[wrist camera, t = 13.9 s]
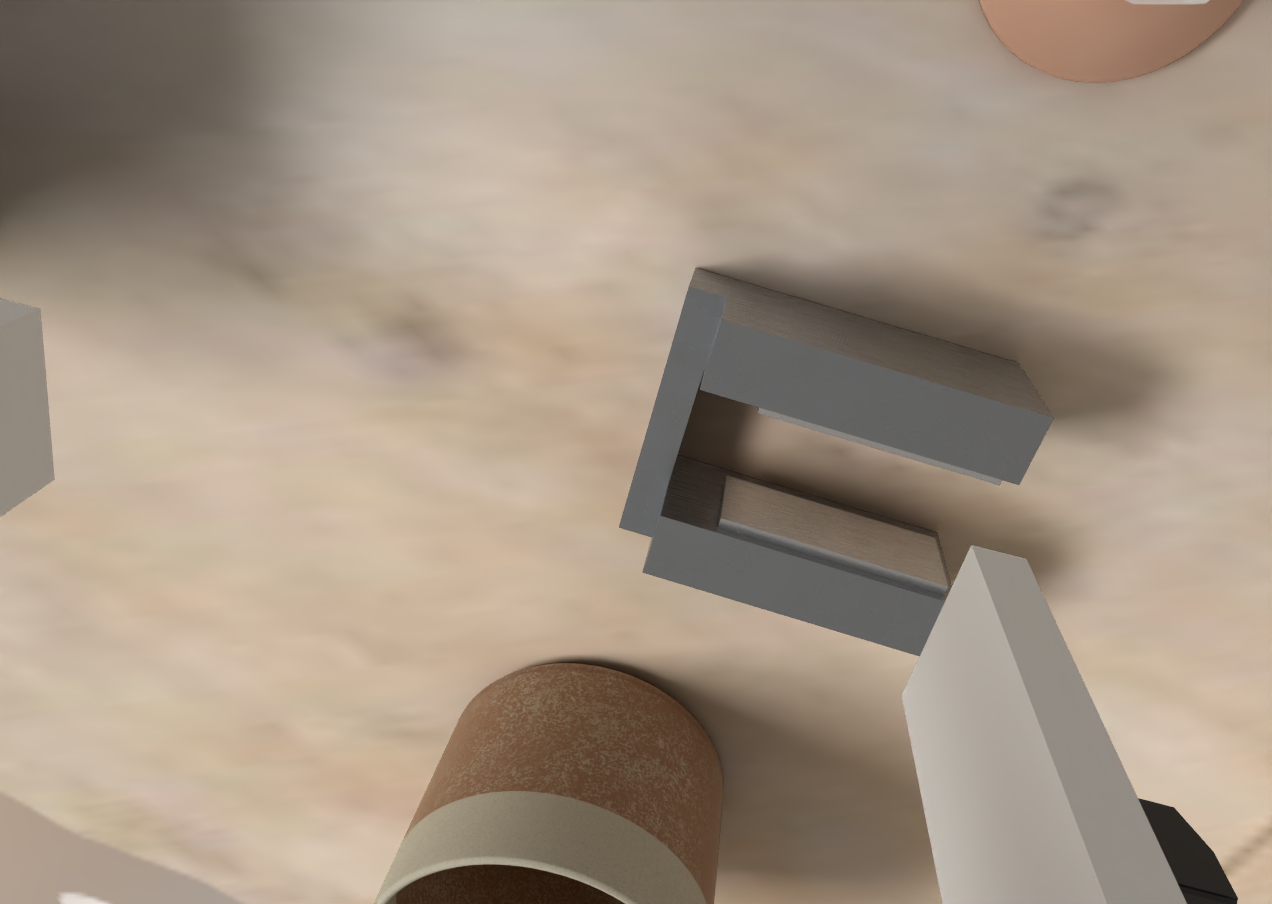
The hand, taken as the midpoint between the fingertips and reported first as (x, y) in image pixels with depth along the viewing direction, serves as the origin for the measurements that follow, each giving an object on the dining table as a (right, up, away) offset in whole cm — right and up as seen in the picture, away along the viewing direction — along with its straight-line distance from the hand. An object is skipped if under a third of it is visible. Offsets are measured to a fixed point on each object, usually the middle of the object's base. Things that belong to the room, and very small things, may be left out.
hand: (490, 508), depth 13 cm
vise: (+10, +2, +30) cm, 32 cm away
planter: (-1, -17, +41) cm, 45 cm away
